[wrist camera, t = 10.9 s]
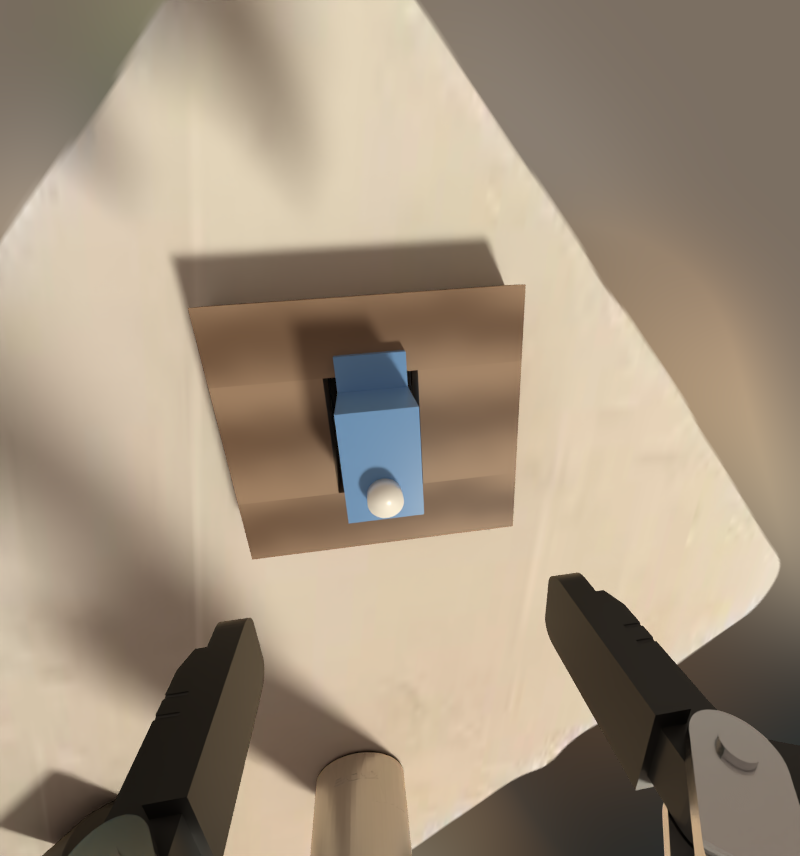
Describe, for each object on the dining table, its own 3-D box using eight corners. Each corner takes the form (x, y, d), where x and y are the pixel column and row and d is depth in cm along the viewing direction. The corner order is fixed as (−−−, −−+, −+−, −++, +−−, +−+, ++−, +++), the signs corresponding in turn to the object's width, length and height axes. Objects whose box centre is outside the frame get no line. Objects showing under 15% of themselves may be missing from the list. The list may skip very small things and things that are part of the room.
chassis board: (497, 503, 29) (512, 525, 26) (262, 531, 27) (252, 559, 25) (505, 285, 23) (525, 284, 20) (209, 306, 22) (187, 308, 19)
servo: (335, 348, 23) (326, 376, 16) (398, 342, 24) (419, 368, 16) (353, 486, 27) (352, 564, 19) (407, 479, 27) (428, 554, 20)
